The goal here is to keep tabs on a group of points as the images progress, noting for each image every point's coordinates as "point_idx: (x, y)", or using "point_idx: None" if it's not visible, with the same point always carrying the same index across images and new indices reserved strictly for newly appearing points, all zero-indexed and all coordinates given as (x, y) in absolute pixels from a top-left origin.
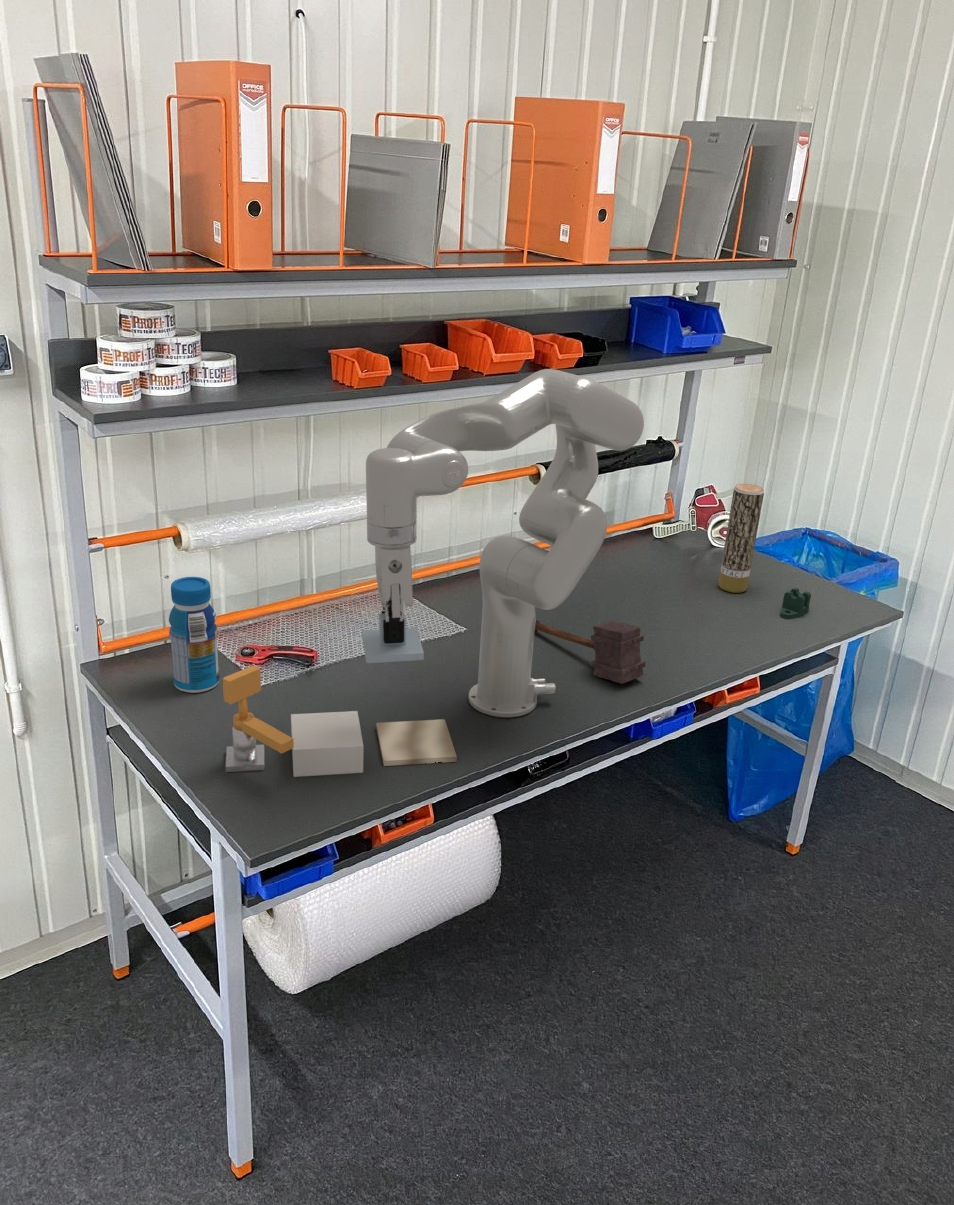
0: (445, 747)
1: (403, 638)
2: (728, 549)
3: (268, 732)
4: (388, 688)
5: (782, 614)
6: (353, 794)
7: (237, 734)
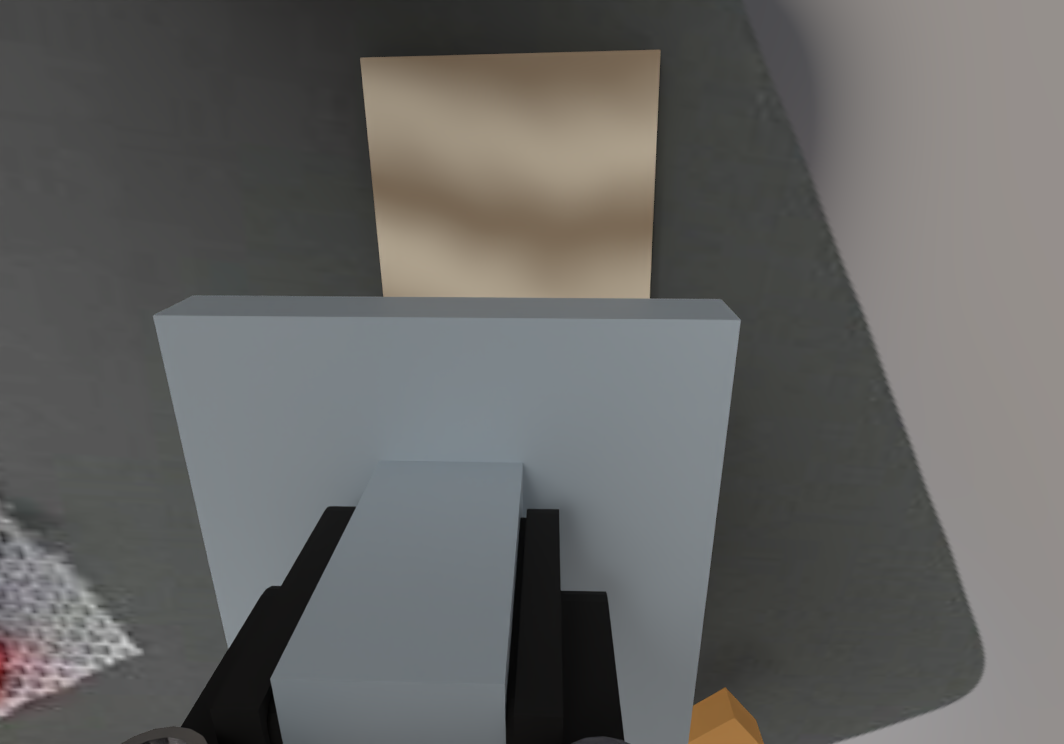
0: (585, 89)
1: (558, 532)
2: None
3: None
4: (97, 261)
5: None
6: (789, 442)
7: None
